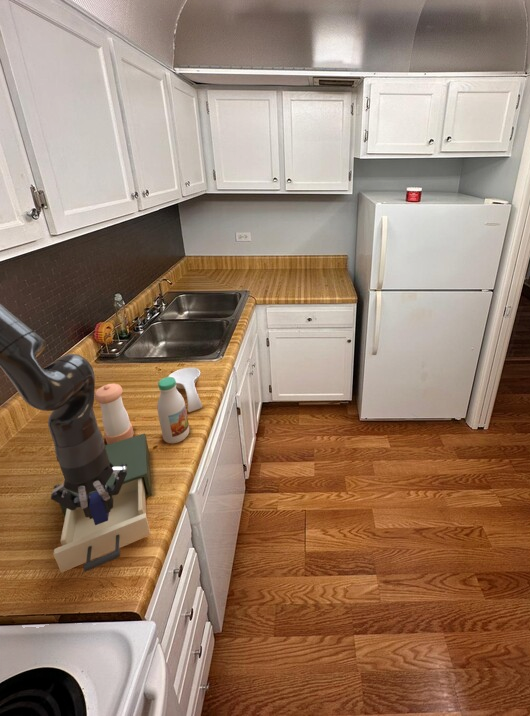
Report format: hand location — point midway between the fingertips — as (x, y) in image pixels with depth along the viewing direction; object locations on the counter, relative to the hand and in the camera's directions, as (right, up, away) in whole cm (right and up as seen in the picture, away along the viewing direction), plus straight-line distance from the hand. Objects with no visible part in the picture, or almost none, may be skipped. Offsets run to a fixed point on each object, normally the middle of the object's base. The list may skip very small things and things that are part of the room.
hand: (100, 511), depth 71 cm
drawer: (0, -7, +3) cm, 7 cm away
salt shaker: (-14, +3, +30) cm, 33 cm away
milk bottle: (+3, +3, +32) cm, 32 cm away
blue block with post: (-1, -1, +2) cm, 2 cm away
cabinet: (-6, -3, +15) cm, 16 cm away
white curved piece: (-1, +11, +51) cm, 52 cm away
